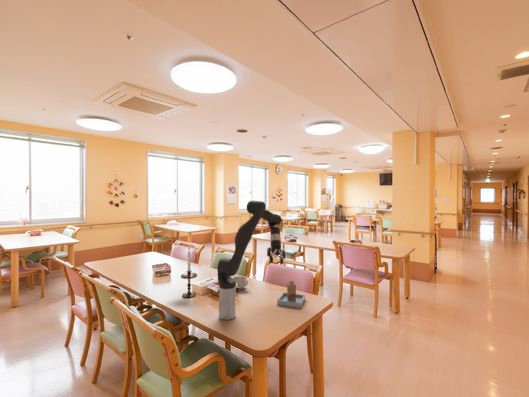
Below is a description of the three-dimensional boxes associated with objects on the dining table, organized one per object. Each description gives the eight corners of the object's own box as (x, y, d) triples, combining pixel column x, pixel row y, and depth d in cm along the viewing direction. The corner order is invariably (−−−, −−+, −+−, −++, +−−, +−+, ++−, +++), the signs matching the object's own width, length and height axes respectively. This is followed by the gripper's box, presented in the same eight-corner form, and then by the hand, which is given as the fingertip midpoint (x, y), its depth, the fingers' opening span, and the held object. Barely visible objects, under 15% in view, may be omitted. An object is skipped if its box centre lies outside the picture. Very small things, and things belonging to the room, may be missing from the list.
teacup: (229, 287, 200) (229, 277, 200) (241, 284, 207) (241, 274, 207) (240, 292, 190) (240, 281, 190) (252, 289, 197) (252, 278, 197)
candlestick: (192, 299, 178) (192, 247, 177) (177, 297, 180) (177, 246, 180) (199, 293, 188) (199, 244, 188) (185, 292, 190) (185, 243, 190)
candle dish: (300, 308, 163) (300, 303, 163) (277, 304, 168) (277, 300, 168) (305, 299, 177) (305, 294, 177) (283, 296, 182) (283, 292, 182)
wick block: (295, 301, 171) (295, 281, 171) (289, 302, 170) (289, 282, 170) (293, 299, 176) (293, 279, 175) (287, 299, 175) (287, 280, 175)
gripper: (270, 237, 185) (271, 260, 177) (286, 241, 192) (288, 263, 184) (264, 241, 190) (265, 263, 182) (280, 244, 197) (281, 266, 189)
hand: (276, 263), depth 183 cm, fingers open, 8 cm apart
